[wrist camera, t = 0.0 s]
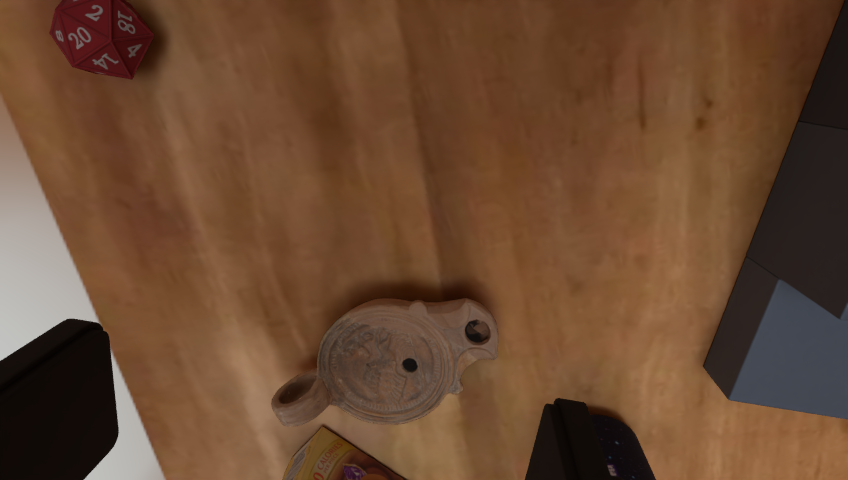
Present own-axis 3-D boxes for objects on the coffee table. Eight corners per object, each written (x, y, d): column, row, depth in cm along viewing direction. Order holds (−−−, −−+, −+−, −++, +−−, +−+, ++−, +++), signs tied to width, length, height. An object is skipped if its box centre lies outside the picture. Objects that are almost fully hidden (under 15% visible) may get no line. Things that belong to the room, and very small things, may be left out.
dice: (129, 95, 26) (71, 100, 22) (74, 12, 25) (4, 3, 21) (185, 60, 25) (135, 59, 21) (131, -28, 24) (68, -45, 20)
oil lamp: (476, 252, 27) (478, 291, 23) (515, 363, 29) (524, 420, 25) (268, 316, 30) (230, 363, 25) (318, 414, 32) (293, 475, 27)
